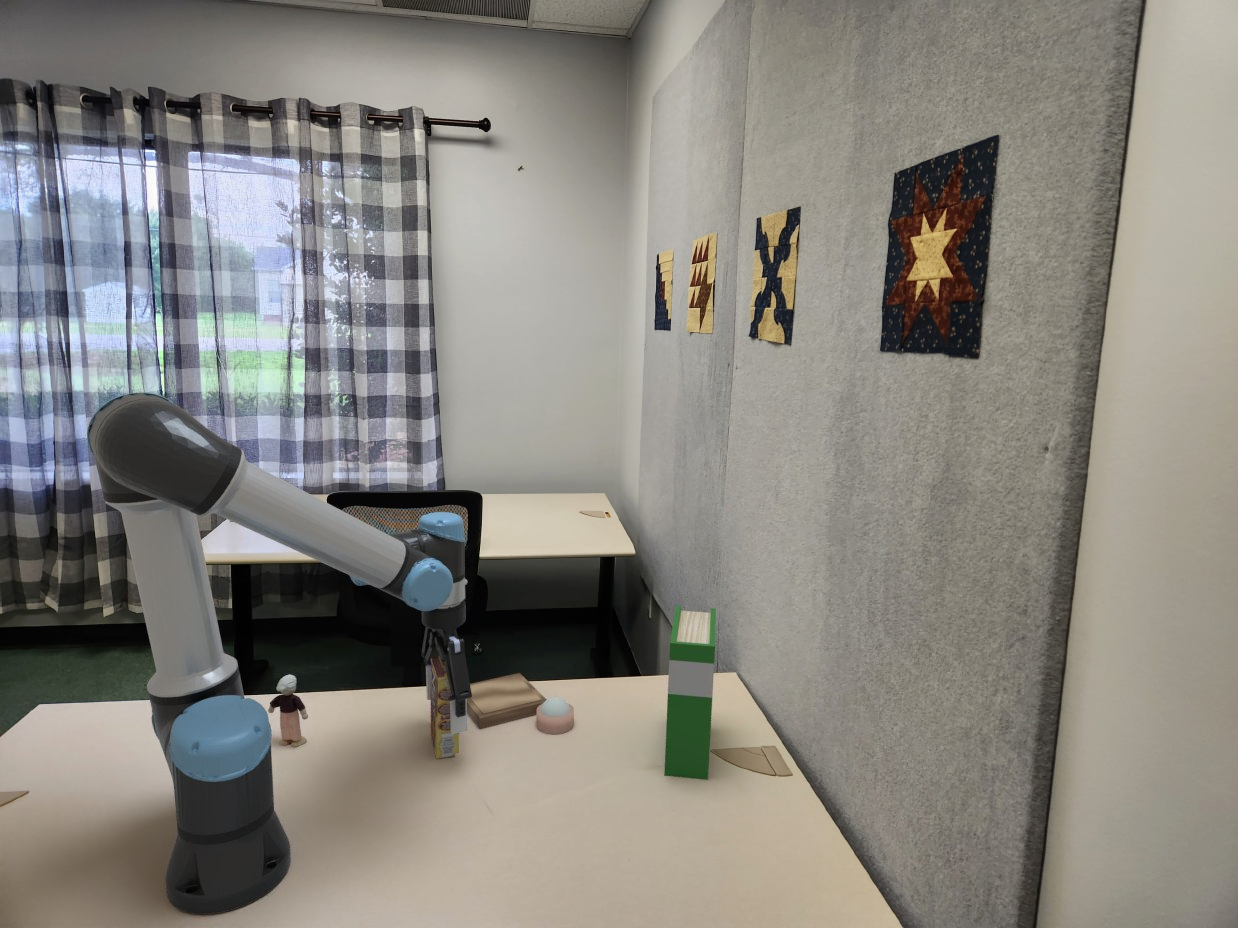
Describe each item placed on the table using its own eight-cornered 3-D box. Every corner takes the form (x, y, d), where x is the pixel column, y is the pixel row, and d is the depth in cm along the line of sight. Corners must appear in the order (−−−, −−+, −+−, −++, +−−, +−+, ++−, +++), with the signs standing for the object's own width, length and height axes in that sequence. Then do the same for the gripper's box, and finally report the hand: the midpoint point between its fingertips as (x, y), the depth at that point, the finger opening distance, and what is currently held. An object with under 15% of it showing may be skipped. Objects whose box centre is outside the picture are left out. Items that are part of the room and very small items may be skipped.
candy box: (461, 756, 135) (460, 674, 132) (436, 760, 133) (435, 678, 131) (453, 731, 143) (453, 654, 140) (430, 734, 141) (429, 656, 139)
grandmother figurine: (315, 736, 140) (313, 671, 137) (307, 748, 136) (303, 681, 134) (274, 735, 140) (270, 670, 137) (264, 746, 136) (260, 679, 134)
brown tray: (548, 715, 150) (548, 700, 149) (480, 732, 143) (480, 717, 142) (519, 686, 161) (519, 672, 161) (455, 700, 154) (455, 686, 154)
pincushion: (579, 732, 144) (580, 702, 143) (546, 741, 140) (546, 711, 139) (563, 715, 150) (563, 687, 149) (530, 724, 146) (530, 695, 145)
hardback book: (670, 723, 148) (676, 605, 144) (709, 727, 147) (715, 608, 143) (664, 775, 131) (670, 642, 127) (707, 779, 130) (715, 646, 126)
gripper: (490, 621, 125) (491, 741, 129) (441, 577, 146) (444, 680, 150) (445, 630, 121) (448, 753, 125) (402, 583, 142) (406, 689, 146)
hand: (446, 713), depth 137 cm, fingers open, 13 cm apart
